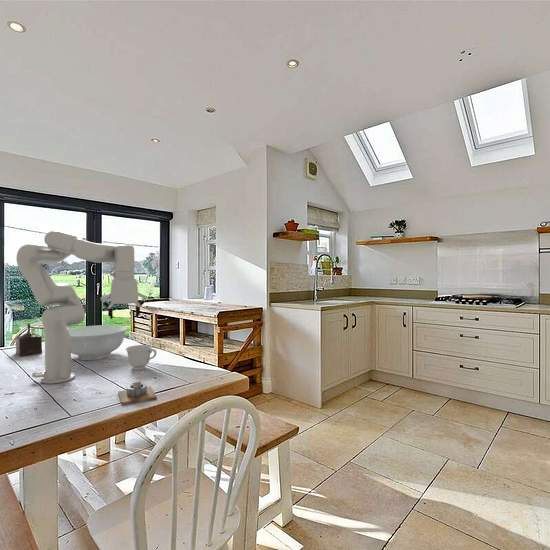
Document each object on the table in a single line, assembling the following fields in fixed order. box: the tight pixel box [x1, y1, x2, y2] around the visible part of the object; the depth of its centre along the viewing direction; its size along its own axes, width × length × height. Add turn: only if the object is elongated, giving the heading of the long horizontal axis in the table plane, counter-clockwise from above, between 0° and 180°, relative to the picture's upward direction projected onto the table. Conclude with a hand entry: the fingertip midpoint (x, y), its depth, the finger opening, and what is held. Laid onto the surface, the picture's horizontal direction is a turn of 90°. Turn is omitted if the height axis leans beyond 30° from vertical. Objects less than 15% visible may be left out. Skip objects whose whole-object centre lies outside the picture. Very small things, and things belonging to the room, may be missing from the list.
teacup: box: [125, 344, 157, 371], centre depth 166 cm, size 12×15×10 cm
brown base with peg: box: [117, 380, 157, 406], centre depth 131 cm, size 12×12×6 cm
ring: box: [126, 382, 148, 398], centre depth 131 cm, size 7×7×3 cm
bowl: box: [67, 324, 128, 361], centre depth 186 cm, size 32×32×15 cm
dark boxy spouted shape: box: [15, 323, 44, 357], centre depth 193 cm, size 16×11×18 cm
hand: (124, 317), depth 141 cm, fingers open, 9 cm apart
